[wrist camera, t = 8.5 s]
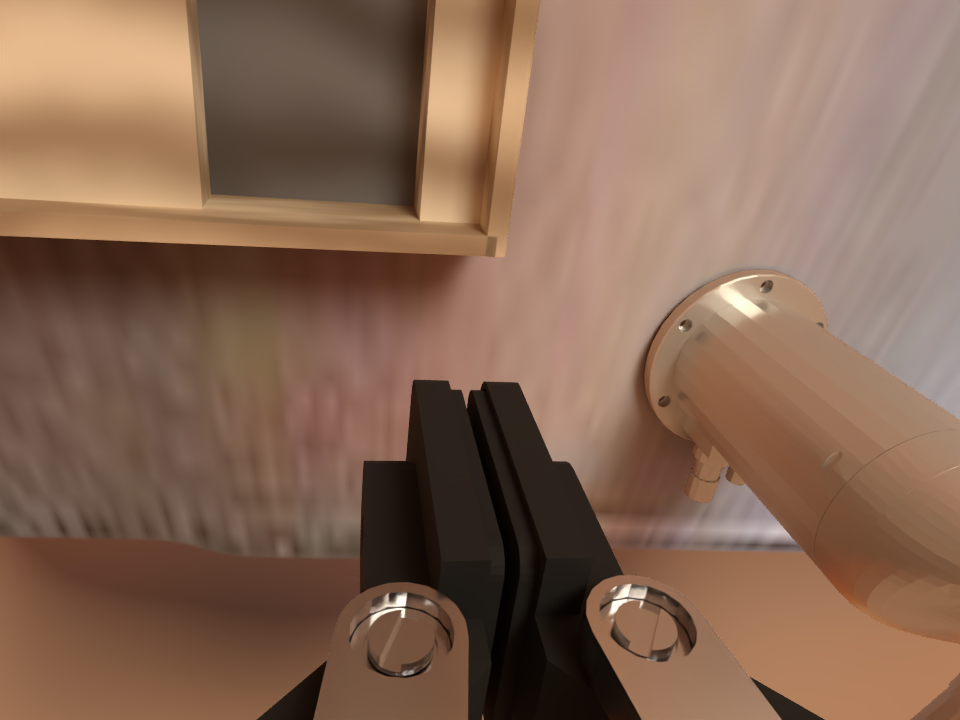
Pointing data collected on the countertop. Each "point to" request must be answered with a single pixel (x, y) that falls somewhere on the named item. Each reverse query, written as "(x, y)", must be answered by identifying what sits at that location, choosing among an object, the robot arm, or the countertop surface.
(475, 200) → the trap box
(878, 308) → the countertop surface
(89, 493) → the countertop surface
